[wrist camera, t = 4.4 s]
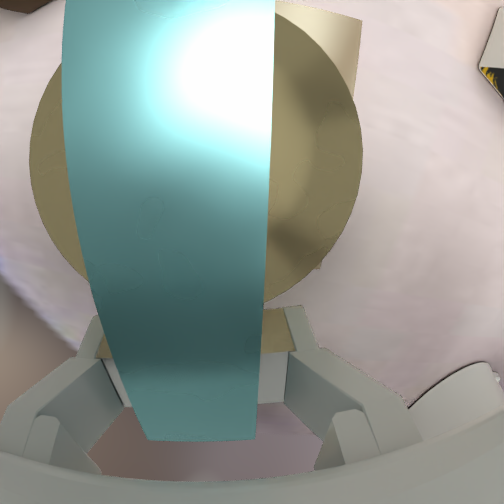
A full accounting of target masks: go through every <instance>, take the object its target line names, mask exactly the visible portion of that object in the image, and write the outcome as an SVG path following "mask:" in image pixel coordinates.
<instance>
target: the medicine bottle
mask: <svg viewBox="0 0 504 504" xmlns="http://www.w3.org/2000/svg"><path fill="white" fill-rule="evenodd" d="M479 69H480V71H481V72H482V73H483V75H484V76H485V77H486V78H487V79H488V81H489V82H490V83H491V84H492V85H493V87H494V88H495V89H496V90H497V92H498V93H499V94H500V95H501V97H502V98H503V99H504V7H500V8H499V11H498V14H497V17H496V20H495V23H494V26H493V29H492V32H491V35H490V37H489V40H488V43H487V46H486V48H485V51H484V53H483V56H482V59H481V61H480V64H479Z"/></svg>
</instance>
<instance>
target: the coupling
mask: <svg viewBox="0 0 504 504" xmlns="http://www.w3.org/2000/svg"><path fill="white" fill-rule="evenodd" d="M362 156H363V148H362V137H361V128H360V123H359V119H358V115H357V111H356V107H355V104H354V101H353V99H352V96H351V94H350V91H349V89H348V86H347V84H346V83H345V81H344V79H343V77H342V76H341V74H340V72H339V70H338V69H337V67H336V65H335V64H334V63H333V61H332V60H331V59H330V58H329V56H328V55H327V54H326V53H325V51H324V50H323V49H322V48H321V47H320V46H319V45H318V44H317V43H316V42H315V41H314V40H313V39H312V38H311V37H310V36H309V35H308V34H307V33H306V32H305V31H303V30H302V29H301V28H299V27H298V26H296V25H295V24H293V23H292V22H291V21H289V20H288V19H286V18H285V17H283V16H281V15H279V14H277V13H275V0H66V5H65V14H64V26H63V41H62V63H61V64H60V66H59V67H58V69H57V70H56V72H55V73H54V75H53V76H52V78H51V79H50V81H49V83H48V85H47V87H46V89H45V92H44V94H43V96H42V98H41V100H40V103H39V106H38V109H37V112H36V116H35V119H34V123H33V128H32V134H31V140H30V156H29V166H30V177H31V185H32V190H33V194H34V198H35V203H36V206H37V209H38V211H39V214H40V217H41V219H42V222H43V224H44V226H45V228H46V230H47V232H48V234H49V236H50V237H51V239H52V241H53V242H54V244H55V245H56V247H57V248H58V250H59V251H60V253H61V254H62V255H63V257H64V258H65V259H66V260H67V261H68V262H69V263H70V265H71V266H72V267H73V268H74V269H75V270H76V271H77V272H78V273H79V274H80V275H82V276H83V277H84V278H85V279H86V280H87V281H88V282H89V284H90V287H91V291H92V295H93V298H94V302H95V305H96V308H97V312H98V315H99V318H100V321H101V325H102V328H103V331H104V334H105V337H106V340H107V343H108V346H109V348H110V351H111V354H112V357H113V360H114V362H115V365H116V368H117V370H118V373H119V376H120V378H121V381H122V383H123V386H124V388H125V390H126V393H127V395H128V398H129V400H130V402H131V405H132V407H133V409H134V411H135V414H136V416H137V418H138V420H139V423H140V425H141V427H142V429H143V431H144V433H145V435H146V437H147V439H148V440H157V441H195V442H198V441H235V440H251V439H255V433H256V418H257V403H258V387H259V371H260V354H261V337H262V319H263V303H264V302H267V301H269V300H271V299H273V298H275V297H276V296H278V295H280V294H282V293H283V292H285V291H287V290H288V289H290V288H291V287H292V286H294V285H295V284H296V283H298V282H299V281H301V280H302V279H303V278H304V277H305V276H307V275H308V274H309V273H310V272H311V271H312V270H313V269H314V268H315V267H316V266H317V265H318V264H319V263H320V262H321V261H322V259H323V258H324V257H325V256H326V255H327V253H328V252H329V251H330V250H331V249H332V247H333V245H334V244H335V242H336V241H337V239H338V238H339V236H340V235H341V233H342V231H343V229H344V227H345V225H346V223H347V221H348V219H349V217H350V215H351V212H352V209H353V206H354V203H355V200H356V197H357V194H358V189H359V184H360V179H361V173H362Z"/></svg>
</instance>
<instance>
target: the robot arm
mask: <svg viewBox="0 0 504 504" xmlns="http://www.w3.org/2000/svg"><path fill="white" fill-rule="evenodd" d="M499 381H500V377H499V375H498V373H496V372H492V369H491V367H490V365H489V364H488V363H484V362H481V363H476V364H473V365H470V366H468V367H465V368H463V369H461V370H460V371H458V372H456V373H454V374H453V375H451V376H449V377H448V378H446V379H445V380H443V381H442V382H440V383H439V384H438V385H436V386H435V387H434V388H432V389H431V390H430V391H428V392H427V393H426V394H425V395H424V396H423V397H421V398H420V399H419V400H418V401H417V402H416V403H415V404H414V405H413V406H412V407H411V408H409V409H407V407H406V405H405V403H404V401H403V399H402V397H401V396H400V395H398V394H397V393H395V392H393V391H392V390H390V389H389V388H387V387H385V386H384V385H382V384H381V383H379V382H377V381H376V380H374V379H373V378H371V377H370V376H368V375H366V374H365V373H363V372H362V371H360V370H359V369H357V368H355V367H354V366H352V365H351V364H349V363H348V362H346V361H345V360H343V359H342V358H340V357H339V356H337V355H335V354H334V353H332V352H331V351H329V350H328V349H326V348H319V346H318V343H317V341H316V338H315V336H314V333H313V330H312V328H311V325H310V323H309V320H308V318H307V315H306V312H305V310H304V307H303V306H301V305H298V306H290V307H282V308H276V309H264V310H263V319H262V337H261V354H260V371H259V387H258V403H257V404H263V403H275V402H284V404H285V405H286V406H287V407H288V408H289V409H290V410H291V411H292V412H293V413H294V414H295V415H296V416H297V417H298V418H299V419H300V420H301V421H302V422H303V423H304V424H305V425H306V426H307V427H308V428H309V429H310V430H311V431H312V432H313V433H314V434H316V435H317V436H318V437H319V438H320V439H321V440H322V441H323V445H322V448H321V450H320V453H319V455H318V458H317V460H316V463H315V465H314V470H315V471H311V472H305V473H299V474H293V475H286V476H279V477H271V478H261V479H250V480H236V481H217V482H216V481H214V482H175V481H155V480H141V479H130V478H122V477H113V476H106V475H101V470H100V469H99V467H98V466H97V465H96V464H95V463H94V462H93V461H92V460H91V459H90V458H89V456H88V455H87V453H88V451H89V450H90V449H91V448H92V447H93V445H94V444H95V443H96V442H97V440H98V439H99V438H100V437H101V436H102V435H103V433H104V432H105V431H106V430H107V429H108V427H109V426H110V425H111V424H112V423H113V421H114V420H115V419H116V418H117V417H118V415H119V414H120V413H121V412H122V410H123V409H124V407H132V405H131V402H130V400H129V398H128V395H127V393H126V390H125V388H124V386H123V383H122V381H121V378H120V376H119V373H118V370H117V368H116V365H115V362H114V360H113V357H112V354H111V351H110V348H109V346H108V343H107V340H106V337H105V334H104V331H103V328H102V325H101V321H100V318H99V315H96V316H94V317H93V318H92V320H91V323H90V325H89V327H88V329H87V332H86V334H85V336H84V339H83V341H82V343H81V346H80V348H79V350H78V353H77V355H76V358H74V357H70V358H69V359H68V360H66V361H65V362H64V363H63V364H61V365H60V366H59V367H57V368H56V369H55V370H53V371H52V372H51V373H49V374H48V375H47V376H46V377H44V378H43V379H42V380H40V381H39V382H38V383H36V384H35V385H34V386H33V387H31V388H30V389H29V390H27V391H26V392H25V393H24V394H22V395H21V396H20V397H18V398H17V399H16V400H15V401H13V402H12V403H11V404H10V405H8V407H7V409H6V411H5V414H4V416H3V419H2V421H1V424H0V504H504V391H503V390H502V388H501V386H500V384H499Z"/></svg>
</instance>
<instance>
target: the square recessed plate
mask: <svg viewBox="0 0 504 504" xmlns="http://www.w3.org/2000/svg"><path fill="white" fill-rule="evenodd" d="M275 13H277V14H279V15H281V16H283V17H285V18H286V19H288V20H289V21H291V22H292V23H293V24H295V25H296V26H298V27H299V28H301V29H302V30H303V31H305V32H306V33H307V34H308V35H309V36H310V37H311V38H312V39H313V40H314V41H315V42H316V43H317V44H318V45H319V46H320V47H321V48H322V49H323V50H324V51H325V53H326V54H327V55H328V56H329V58H330V59H331V60H332V61H333V63H334V64H335V65H336V67H337V69H338V70H339V72H340V74H341V76H342V77H343V79H344V81H345V83H346V84H347V86H348V89H349V91H350V94H351V96H352V99H353V95H354V87H355V80H356V72H357V64H358V56H359V47H360V38H361V28H362V21H361V20H358V19H355V18H352V17H348V16H345V15H341V14H337V13H333V12H330V11H326V10H321V9H317V8H313V7H308V6H304V5H299V4H293V3H288V2H282V1H276V0H275ZM321 262H322V261H321ZM321 262H320V263H319V264H318V265H317V266H316V267H315V268H314V269H320V266H321Z"/></svg>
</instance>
